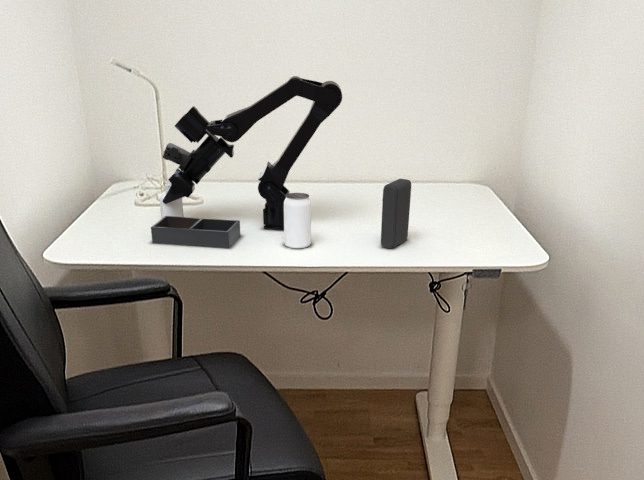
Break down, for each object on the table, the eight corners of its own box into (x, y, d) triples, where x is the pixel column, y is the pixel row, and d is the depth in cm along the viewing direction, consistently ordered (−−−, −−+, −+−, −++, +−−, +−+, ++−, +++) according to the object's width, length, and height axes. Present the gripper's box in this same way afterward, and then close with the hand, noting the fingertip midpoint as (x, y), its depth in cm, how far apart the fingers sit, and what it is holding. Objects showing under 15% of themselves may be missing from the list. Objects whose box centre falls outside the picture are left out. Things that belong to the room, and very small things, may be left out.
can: (301, 250, 177) (301, 200, 171) (279, 246, 180) (278, 196, 174) (315, 243, 181) (316, 194, 176) (294, 239, 184) (293, 190, 178)
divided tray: (166, 231, 189) (165, 215, 187) (240, 236, 186) (239, 220, 184) (152, 243, 180) (150, 227, 178) (229, 248, 178) (228, 232, 176)
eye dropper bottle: (182, 228, 191) (178, 181, 185) (160, 227, 191) (156, 180, 186) (185, 223, 195) (181, 177, 189) (164, 223, 195) (160, 176, 189)
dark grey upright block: (394, 237, 187) (398, 177, 179) (409, 240, 185) (413, 179, 178) (378, 247, 180) (381, 184, 172) (393, 250, 178) (396, 186, 171)
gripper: (186, 125, 190) (148, 169, 195) (174, 139, 174) (132, 186, 179) (219, 157, 194) (180, 199, 199) (209, 174, 178) (168, 219, 183)
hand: (165, 200), depth 190 cm, fingers closed on eye dropper bottle, 4 cm apart
